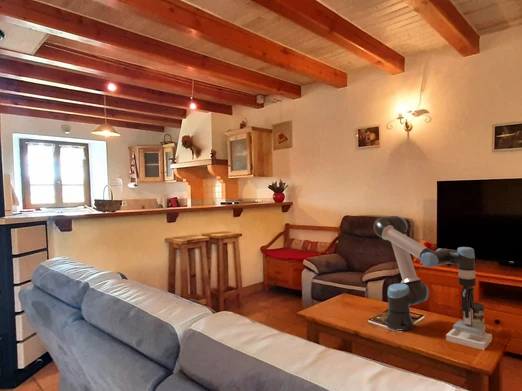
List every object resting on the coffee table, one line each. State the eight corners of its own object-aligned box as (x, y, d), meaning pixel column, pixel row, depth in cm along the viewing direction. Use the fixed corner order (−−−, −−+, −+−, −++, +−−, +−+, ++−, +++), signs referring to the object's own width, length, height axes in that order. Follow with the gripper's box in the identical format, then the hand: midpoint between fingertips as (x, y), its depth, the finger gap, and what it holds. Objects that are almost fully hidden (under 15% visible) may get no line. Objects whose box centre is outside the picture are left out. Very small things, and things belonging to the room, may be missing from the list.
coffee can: (489, 332, 189) (488, 306, 189) (474, 335, 186) (473, 308, 186) (473, 325, 199) (472, 300, 199) (458, 328, 196) (457, 303, 196)
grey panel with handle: (453, 328, 181) (452, 308, 181) (459, 323, 188) (458, 303, 188) (479, 334, 172) (478, 313, 172) (485, 328, 179) (484, 308, 179)
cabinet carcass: (446, 340, 181) (446, 330, 181) (455, 331, 192) (455, 322, 192) (484, 350, 169) (483, 340, 169) (492, 340, 179) (491, 330, 179)
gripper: (470, 281, 172) (472, 329, 172) (479, 275, 183) (481, 320, 183) (453, 279, 177) (455, 325, 177) (463, 273, 188) (465, 316, 188)
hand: (468, 322), depth 180 cm, fingers closed on grey panel with handle, 3 cm apart
